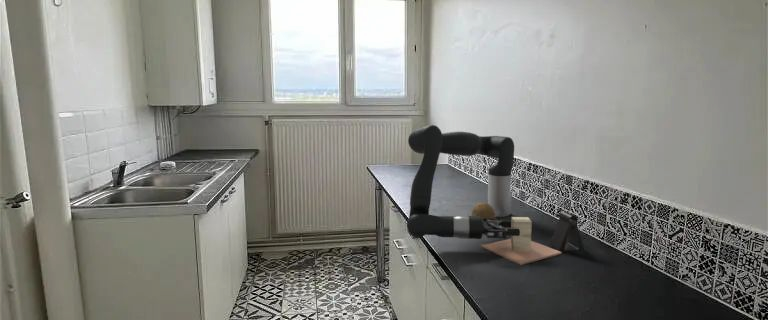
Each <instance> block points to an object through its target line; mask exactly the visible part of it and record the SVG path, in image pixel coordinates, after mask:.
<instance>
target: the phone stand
mask: <svg viewBox="0 0 768 320" xmlns="http://www.w3.org/2000/svg"><path fill="white" fill-rule="evenodd" d="M558 217H559V218H558V222H557V224H556V227H555V229H554V232H553V235H552V238H551V239H550V243H549V246H550V248H552V249H555V250H557V251H560V252H562V253H564V252H575V251H577V252H578V251H584V250H585V248H584V247H585V246H584V244H583V241H582V237H581V233H580V230H579V228H578V227H579V226H578V217H577V216H576V215H574V214H572V213H570V212H569V211H566V210H564V211H563V210H561V211H560V212H559V214H558ZM567 241H568V243H567Z"/></svg>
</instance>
